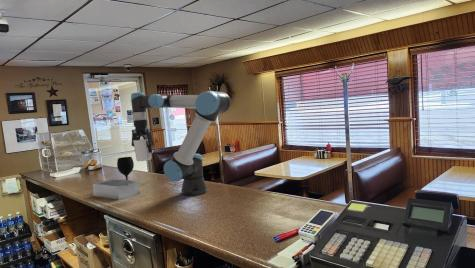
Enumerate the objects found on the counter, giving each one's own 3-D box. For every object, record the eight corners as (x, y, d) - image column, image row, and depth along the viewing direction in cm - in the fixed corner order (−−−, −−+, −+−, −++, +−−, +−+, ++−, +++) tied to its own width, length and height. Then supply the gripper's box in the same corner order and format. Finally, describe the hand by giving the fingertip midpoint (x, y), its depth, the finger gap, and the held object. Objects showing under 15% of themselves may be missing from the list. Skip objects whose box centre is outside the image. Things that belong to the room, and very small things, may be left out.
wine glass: (132, 188, 212) (129, 158, 211) (116, 189, 213) (113, 159, 211) (137, 185, 223) (135, 156, 221) (122, 186, 223) (120, 157, 221)
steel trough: (139, 193, 198) (138, 181, 198) (119, 200, 186) (117, 187, 185) (114, 190, 212) (113, 178, 211) (93, 196, 199) (92, 184, 198)
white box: (155, 158, 194) (153, 138, 193) (149, 160, 184) (147, 139, 183) (139, 159, 195) (137, 139, 194) (132, 161, 185) (130, 140, 184)
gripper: (158, 118, 185) (161, 157, 187) (132, 120, 197) (136, 156, 199) (148, 119, 179) (151, 159, 181) (122, 120, 191) (126, 158, 192)
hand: (143, 158), depth 190 cm, fingers closed on white box, 9 cm apart
